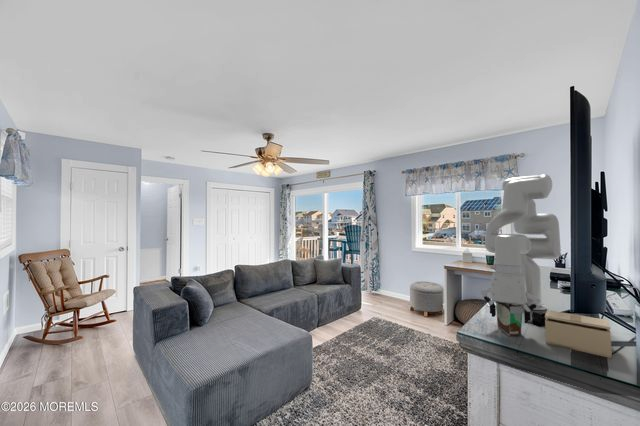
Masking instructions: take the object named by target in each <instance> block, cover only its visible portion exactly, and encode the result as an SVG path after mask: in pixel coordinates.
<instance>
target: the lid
mask: <svg viewBox="0 0 640 426" xmlns="http://www.w3.org/2000/svg"><path fill="white" fill-rule="evenodd" d="M546 310H547V311H546V315H545V318H549V319H555V320H560V321H566V322H572V323H577V324H583V325H588V326H594V327H599V328H605V329H609V330H611V326H610V324H609V321H608V319H604V318H596V317H591V316H585V315H581V314H575V313H568V312H562V311H554V310H549V309H546Z"/></svg>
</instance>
